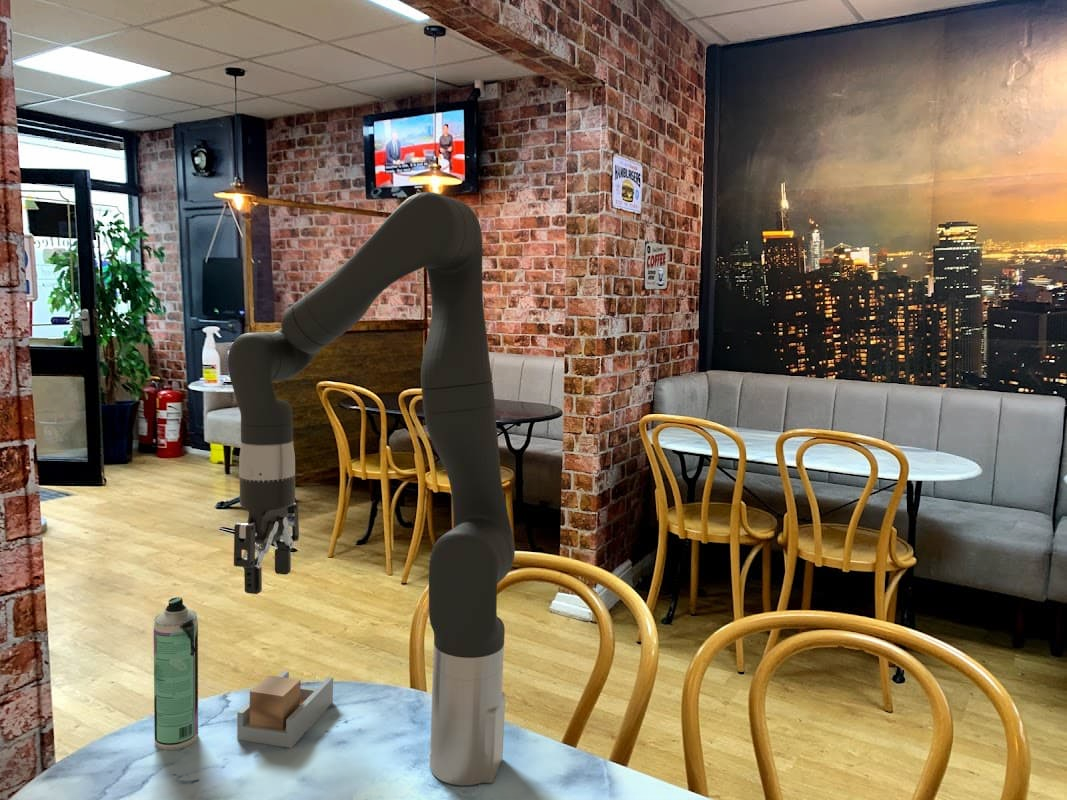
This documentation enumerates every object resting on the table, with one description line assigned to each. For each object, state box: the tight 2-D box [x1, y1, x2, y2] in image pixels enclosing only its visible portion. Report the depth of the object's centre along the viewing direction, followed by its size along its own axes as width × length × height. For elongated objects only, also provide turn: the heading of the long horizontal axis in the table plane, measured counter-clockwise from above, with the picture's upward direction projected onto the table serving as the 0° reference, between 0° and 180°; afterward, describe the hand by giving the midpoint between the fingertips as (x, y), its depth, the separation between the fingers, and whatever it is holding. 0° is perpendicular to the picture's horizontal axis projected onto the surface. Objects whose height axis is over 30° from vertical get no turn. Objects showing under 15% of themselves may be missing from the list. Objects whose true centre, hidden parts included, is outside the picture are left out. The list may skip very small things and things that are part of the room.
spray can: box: [153, 596, 199, 751], centre depth 107 cm, size 6×6×20 cm
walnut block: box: [249, 674, 302, 731], centre depth 110 cm, size 5×5×5 cm
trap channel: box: [236, 670, 334, 749], centre depth 114 cm, size 8×13×4 cm, turn 169°
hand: (268, 582), depth 113 cm, fingers open, 8 cm apart
